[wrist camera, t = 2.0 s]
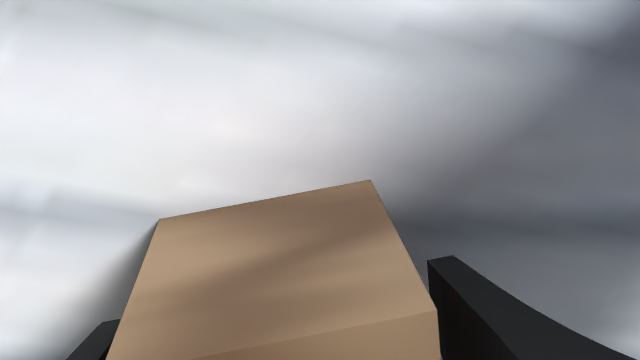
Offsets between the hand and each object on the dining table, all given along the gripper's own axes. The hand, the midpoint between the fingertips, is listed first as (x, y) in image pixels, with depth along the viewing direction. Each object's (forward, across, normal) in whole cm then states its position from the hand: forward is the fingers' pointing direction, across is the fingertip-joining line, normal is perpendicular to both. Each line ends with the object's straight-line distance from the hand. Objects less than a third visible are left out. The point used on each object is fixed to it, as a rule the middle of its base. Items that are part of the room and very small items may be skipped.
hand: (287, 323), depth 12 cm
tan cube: (+2, 0, 0) cm, 2 cm away
